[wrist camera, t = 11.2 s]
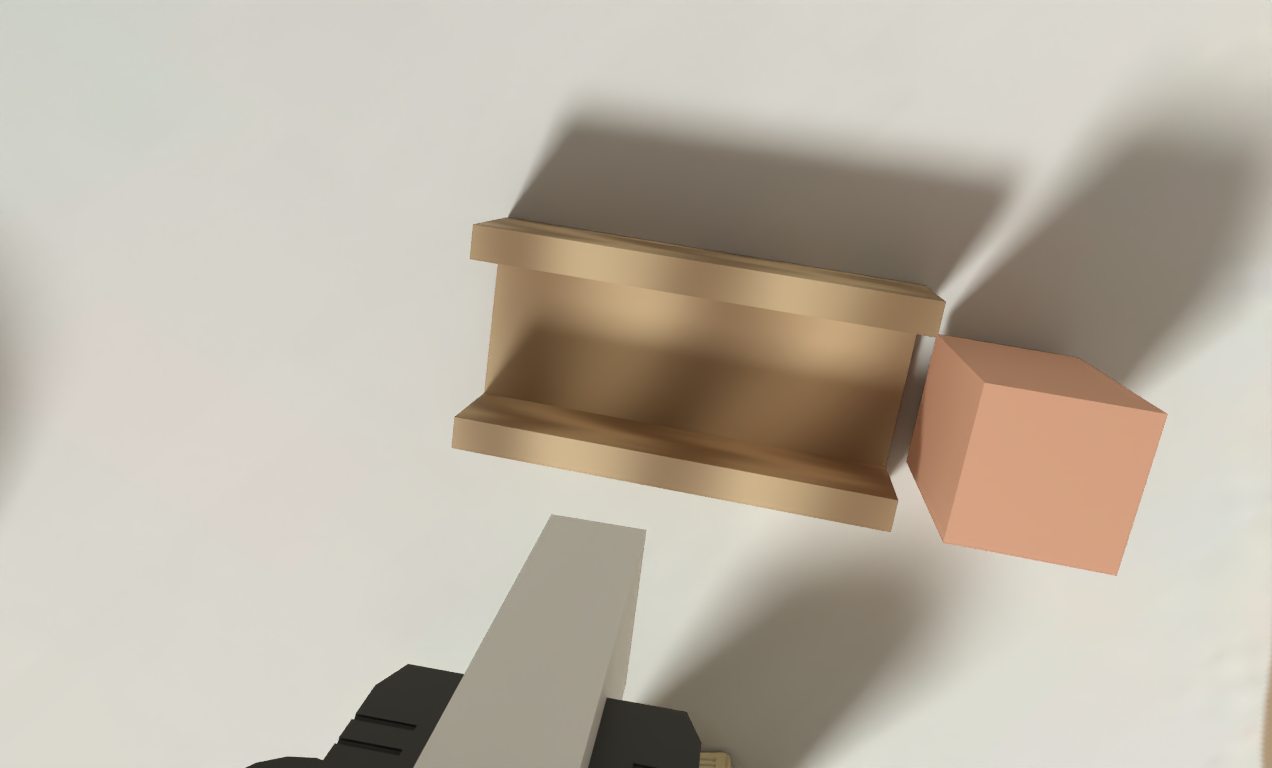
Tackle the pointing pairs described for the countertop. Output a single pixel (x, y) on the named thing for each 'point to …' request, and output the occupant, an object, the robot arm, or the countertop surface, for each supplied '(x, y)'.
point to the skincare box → (714, 760)
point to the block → (1031, 453)
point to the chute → (695, 369)
